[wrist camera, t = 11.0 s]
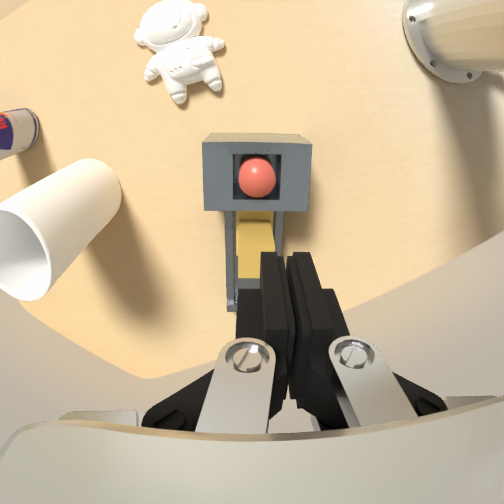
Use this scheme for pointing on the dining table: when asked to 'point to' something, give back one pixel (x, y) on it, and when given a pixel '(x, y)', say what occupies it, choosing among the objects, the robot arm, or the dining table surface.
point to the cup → (53, 225)
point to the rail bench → (234, 199)
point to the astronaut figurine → (179, 47)
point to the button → (256, 175)
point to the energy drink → (17, 131)
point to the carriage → (253, 240)
